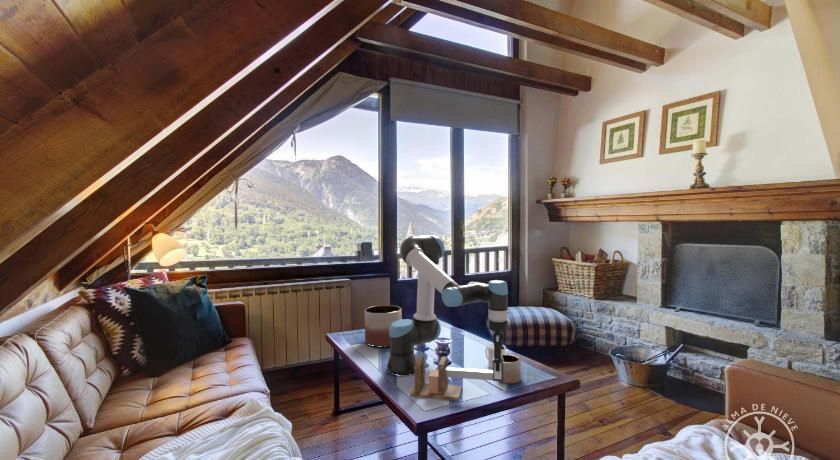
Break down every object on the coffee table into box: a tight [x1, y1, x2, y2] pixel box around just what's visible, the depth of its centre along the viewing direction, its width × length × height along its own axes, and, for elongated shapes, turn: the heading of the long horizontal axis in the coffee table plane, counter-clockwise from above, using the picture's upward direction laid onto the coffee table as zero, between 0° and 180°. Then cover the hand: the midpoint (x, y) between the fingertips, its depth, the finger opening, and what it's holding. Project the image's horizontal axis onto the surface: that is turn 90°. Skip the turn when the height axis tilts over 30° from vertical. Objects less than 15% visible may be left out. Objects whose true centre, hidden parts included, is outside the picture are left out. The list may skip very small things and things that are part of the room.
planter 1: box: [364, 304, 403, 348], centre depth 233 cm, size 22×22×20 cm
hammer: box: [445, 358, 504, 383], centre depth 161 cm, size 24×4×8 cm, turn 76°
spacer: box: [428, 369, 439, 394], centre depth 165 cm, size 4×7×7 cm, turn 166°
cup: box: [485, 343, 507, 370], centre depth 192 cm, size 8×12×10 cm
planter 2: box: [501, 354, 522, 385], centre depth 176 cm, size 11×11×10 cm
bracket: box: [409, 354, 463, 401], centre depth 165 cm, size 20×11×14 cm, turn 76°
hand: (498, 371), depth 159 cm, fingers open, 13 cm apart
